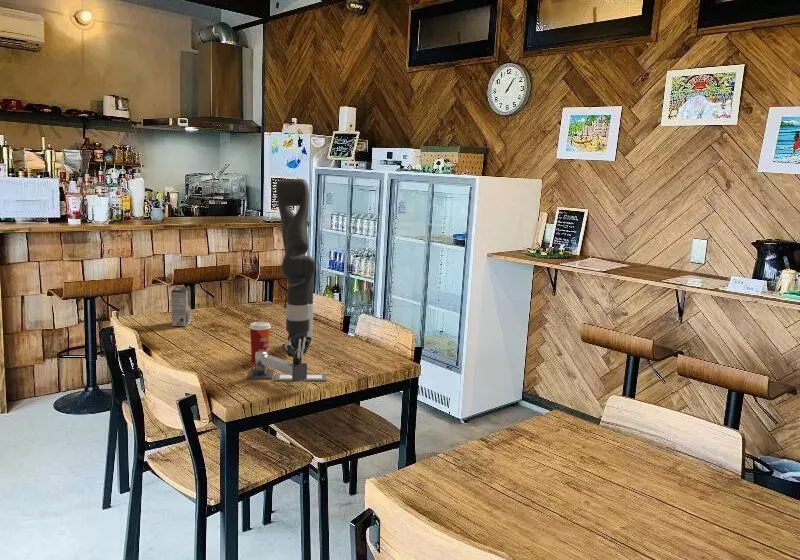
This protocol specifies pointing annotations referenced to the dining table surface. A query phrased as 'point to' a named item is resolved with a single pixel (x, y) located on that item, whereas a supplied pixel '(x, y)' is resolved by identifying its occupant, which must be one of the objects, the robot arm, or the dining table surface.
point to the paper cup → (259, 337)
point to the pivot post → (261, 372)
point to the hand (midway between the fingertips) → (297, 368)
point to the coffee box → (181, 306)
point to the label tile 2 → (315, 377)
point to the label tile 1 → (283, 377)
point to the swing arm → (282, 365)
